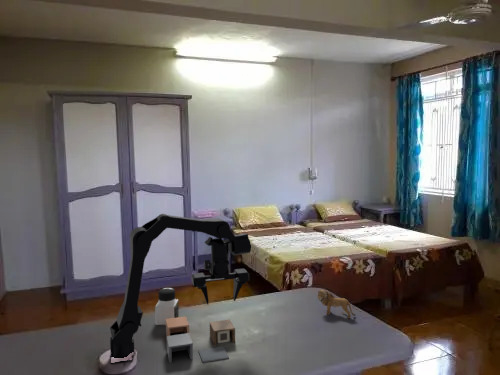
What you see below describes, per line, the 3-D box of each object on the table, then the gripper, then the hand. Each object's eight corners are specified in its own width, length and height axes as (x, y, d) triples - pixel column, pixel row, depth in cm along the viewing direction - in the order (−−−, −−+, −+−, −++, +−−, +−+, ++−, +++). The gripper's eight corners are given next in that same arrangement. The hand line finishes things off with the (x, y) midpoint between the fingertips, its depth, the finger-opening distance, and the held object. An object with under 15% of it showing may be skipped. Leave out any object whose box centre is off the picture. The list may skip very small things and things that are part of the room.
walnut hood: (214, 345, 128) (214, 331, 127) (209, 336, 134) (209, 322, 134) (235, 342, 130) (235, 328, 129) (229, 333, 136) (229, 319, 136)
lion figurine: (315, 314, 152) (316, 291, 152) (318, 309, 157) (318, 287, 157) (355, 319, 148) (355, 296, 147) (356, 314, 153) (356, 291, 152)
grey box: (169, 362, 117) (169, 346, 117) (166, 351, 124) (166, 336, 124) (192, 359, 120) (192, 343, 119) (189, 348, 126) (188, 333, 126)
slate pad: (202, 362, 117) (202, 361, 117) (198, 351, 124) (198, 350, 124) (228, 358, 120) (228, 357, 120) (223, 347, 126) (223, 346, 126)
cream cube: (217, 343, 129) (217, 331, 129) (215, 337, 133) (214, 326, 133) (229, 341, 131) (229, 330, 130) (226, 336, 135) (226, 324, 134)
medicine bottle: (174, 325, 142) (174, 293, 141) (155, 325, 143) (154, 293, 142) (178, 317, 150) (178, 286, 148) (160, 316, 150) (159, 286, 149)
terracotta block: (168, 342, 130) (167, 327, 130) (165, 332, 137) (165, 318, 136) (189, 339, 132) (189, 324, 132) (186, 330, 139) (185, 316, 138)
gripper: (241, 248, 141) (241, 290, 143) (188, 253, 136) (190, 296, 138) (249, 256, 130) (250, 302, 132) (193, 262, 125) (194, 309, 127)
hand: (221, 302), depth 132 cm, fingers open, 9 cm apart
